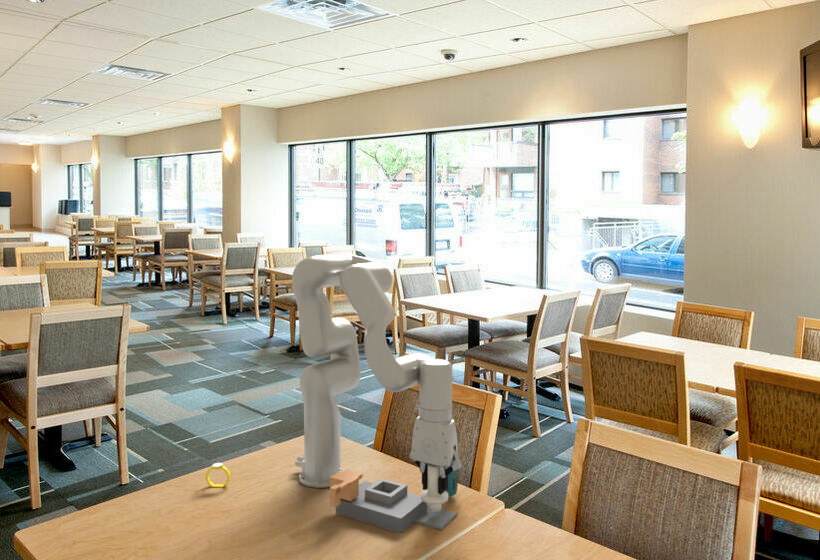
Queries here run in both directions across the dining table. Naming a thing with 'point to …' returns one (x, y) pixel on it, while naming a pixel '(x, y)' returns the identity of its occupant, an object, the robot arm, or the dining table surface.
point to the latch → (344, 486)
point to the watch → (218, 466)
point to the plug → (433, 490)
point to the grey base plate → (384, 505)
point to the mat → (435, 518)
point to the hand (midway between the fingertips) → (434, 489)
